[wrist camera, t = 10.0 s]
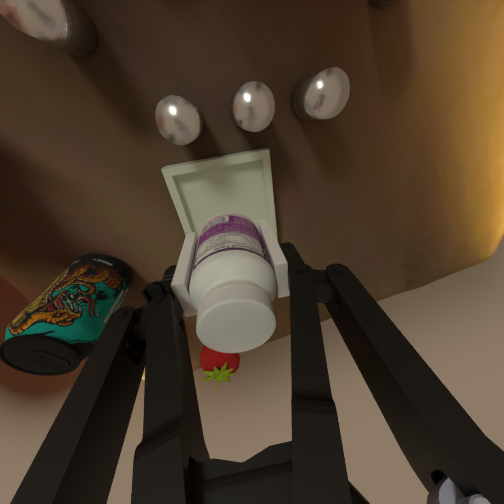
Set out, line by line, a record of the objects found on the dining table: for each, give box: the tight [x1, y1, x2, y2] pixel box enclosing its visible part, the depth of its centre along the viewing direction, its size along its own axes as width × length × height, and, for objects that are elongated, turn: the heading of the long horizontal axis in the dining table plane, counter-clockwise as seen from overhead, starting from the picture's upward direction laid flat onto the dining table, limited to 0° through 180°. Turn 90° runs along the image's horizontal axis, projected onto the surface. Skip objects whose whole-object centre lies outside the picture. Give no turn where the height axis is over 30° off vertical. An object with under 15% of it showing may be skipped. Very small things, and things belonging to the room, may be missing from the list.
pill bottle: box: [189, 212, 277, 353], centre depth 14 cm, size 5×5×10 cm
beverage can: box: [0, 254, 132, 376], centre depth 23 cm, size 7×7×12 cm
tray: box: [161, 148, 278, 242], centre depth 24 cm, size 11×11×2 cm
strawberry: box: [200, 345, 240, 390], centre depth 33 cm, size 6×8×10 cm
